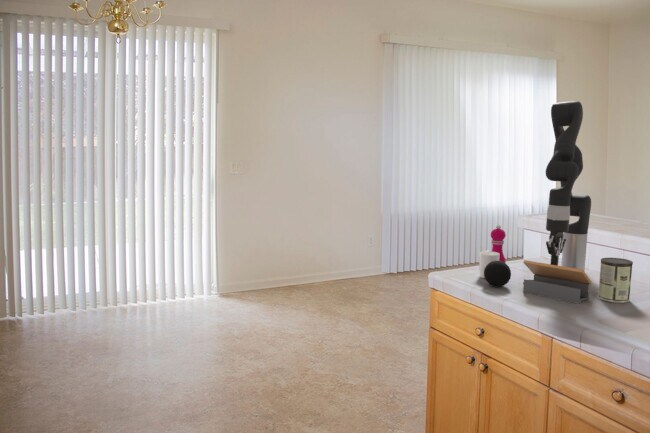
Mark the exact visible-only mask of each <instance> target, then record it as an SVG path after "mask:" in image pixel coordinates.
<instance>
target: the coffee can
mask: <svg viewBox="0 0 650 433" xmlns="http://www.w3.org/2000/svg"><path fill="white" fill-rule="evenodd" d="M633 263H634V262H633V260H630V259H627V258H619V257H602V258H600V272H599V280H598V281H599V284H598V293H597V294H598V295H597V298H598V299H600V300H601V301H606V302H608V303H617V304H619V303H620V304H623V303H625V304H626V303H628V302H630V298H631V297H630V294H631V284H632V283H631V282H632V274H633V265H634V264H633Z"/></svg>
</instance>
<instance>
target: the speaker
mask: <svg viewBox="0 0 650 433" xmlns="http://www.w3.org/2000/svg"><path fill="white" fill-rule="evenodd" d="M511 272H512V271H511V268H510V266H509V265H508V264H507V263H506V262H505V263H504V262H502V261H492V262H490V263H489V264H487V266H486V267H485V269H484V278H483V279H484V280H485V281H486V282H487V284H488V285H490V286H491V287H495V288H496V287H497V288H500V287H503V286H506V285H507V284H508V283H509V282H510V280H511V276H512V273H511Z"/></svg>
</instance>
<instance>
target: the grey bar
mask: <svg viewBox="0 0 650 433" xmlns="http://www.w3.org/2000/svg"><path fill="white" fill-rule="evenodd" d="M522 284H523V286H524V281H523V282H522ZM580 297H582V298H587V297H588V298H589V296H588V292H586V291H580ZM588 298H587V299H588Z"/></svg>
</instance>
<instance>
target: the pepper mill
mask: <svg viewBox="0 0 650 433" xmlns="http://www.w3.org/2000/svg"><path fill="white" fill-rule="evenodd" d="M506 236H507V235H506V231H505V230H503V229H502V226H501V225H499V224H497V225H496V228H495V229H492V231H490V237H491V244H492V249H491V251H492V252H497V253H499V254H500V256H499V261H502V262H504V263H506V257H505V255H504V253H503V245H504V244H505V243H504V242H505V241H504V240H505V238H506Z"/></svg>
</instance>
